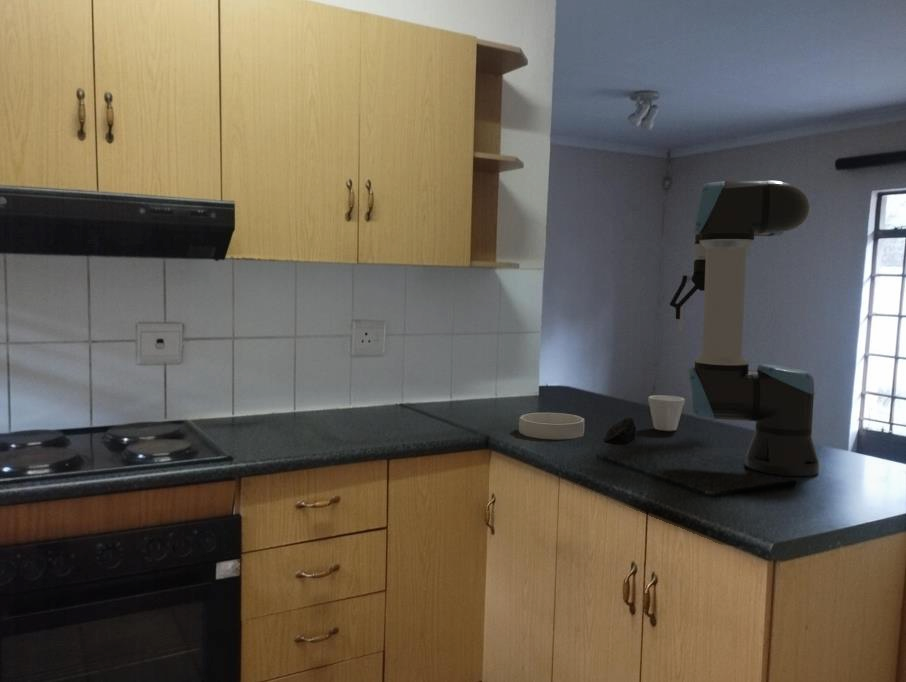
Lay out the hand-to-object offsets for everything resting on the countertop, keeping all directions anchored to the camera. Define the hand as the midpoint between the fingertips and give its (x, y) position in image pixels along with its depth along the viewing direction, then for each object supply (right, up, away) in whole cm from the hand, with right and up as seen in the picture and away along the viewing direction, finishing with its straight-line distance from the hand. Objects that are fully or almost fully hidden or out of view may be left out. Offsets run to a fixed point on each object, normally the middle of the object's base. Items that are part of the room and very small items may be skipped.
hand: (704, 331), depth 211 cm
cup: (-13, -29, -6) cm, 32 cm away
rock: (-30, -30, -20) cm, 47 cm away
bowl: (-47, -28, -12) cm, 56 cm away
